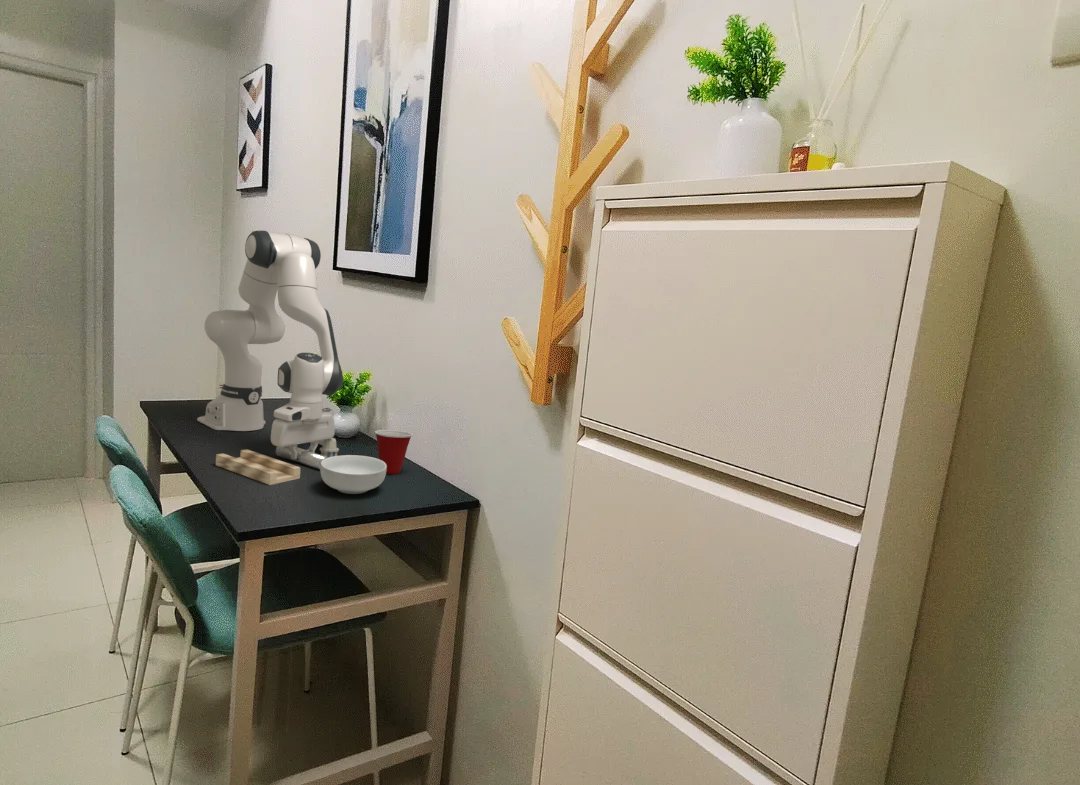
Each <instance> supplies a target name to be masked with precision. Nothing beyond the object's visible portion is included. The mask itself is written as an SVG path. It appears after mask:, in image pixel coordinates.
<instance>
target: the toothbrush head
mask: <svg viewBox="0 0 1080 785" xmlns="http://www.w3.org/2000/svg"><path fill="white" fill-rule="evenodd" d="M318 445H321V446H322V447H319V451H320V455H323V456H326V457H328V458H329V457H334V456H338V452H340V448H338V447H337V440H336V438H334V437H333V438H331V439H325V440H320V441H319V442H318Z"/></svg>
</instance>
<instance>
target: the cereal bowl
mask: <svg viewBox="0 0 1080 785" xmlns="http://www.w3.org/2000/svg"><path fill="white" fill-rule="evenodd" d="M386 470H387V465H386V464H385V462H383V461H381V460H379V458H376V457H372V456H367V455H360V454H359V455H357V454H356V455H355V454H353V455H352V454H346V455H345V454H344V455H337V456H334V457H329V458H326V459H324V460H323V461H322V462H321V466H320V470H319V471H320V477H321V478H322V480H323V482H324V484H326V485H327V486H329V488H332V489H333V490H337V491H338V492H340V493H343V494H349V495H358V494H363V493H367V492H368V491H371V490H373V489H376V488H377V487H379V486H380V485H381V484H382V483H383V482H384V480H385V477H386V475H387V474H386Z"/></svg>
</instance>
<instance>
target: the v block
mask: <svg viewBox="0 0 1080 785" xmlns="http://www.w3.org/2000/svg"><path fill="white" fill-rule="evenodd" d="M215 466H217V467H219V468H223V469H225V470H227V471H231V472H233V473H236V474H239V475H241V476H244V477H247V478H249V479H252V480H255V481H258V482H260V483H262V484H266V485H269V486H272V485H277V484H280V483H286V482H289V481H290V482H291V481H293V480H298V479H300V478H301V467H300V466H297V465H294V464H292V463H289V462H286V461H282V460H280V459H276V458H274V457H271V456H268V455H265V454H262V453H259V452H256V451H254V450H253V451H252V450H250V449H240V455H239V457H235V456H231V455H229V454H226V453H223V452H222V453H218V454H217V453H216V454H215Z"/></svg>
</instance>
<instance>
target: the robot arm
mask: <svg viewBox="0 0 1080 785" xmlns="http://www.w3.org/2000/svg"><path fill="white" fill-rule="evenodd" d="M244 252H245V256H246V258H247V260H246V262H245V266H244V269H243V272H242V275H241V279H240V282H239V285H238V294H239V297H240V298H241V299H242V300H243V301H244V302H245V303H247V304H248V306H249V307H248V309H247V310H246V309H245V310H243V309H242V310H239V309H222V310H216V311H215V310H214V311H211V312H210V313H209V314H208V315H207V316H206V319H205V321H204V331H205V334H206V336H207V337H208V339H209V340H210V341H211V342H213V343H214V344H215V345H216V346H217V347H218V349H219V350H220V352H221V354H222V357H223V361H224V383H223V384H219V389H221V390H220V392H219V393H220V394H219V395H218V396H216V397H215V398H214V399H212V400H210V401H209V402H208V403H207V404H206V407H205V415H201V416H199V417H197V419H196V421H198V422H199V423H201V424H203V425H205V426H207V427H209V428H211V429H212V430H215V431H235V432H250V431H258V430H261V429H263V428H265V426H264V425H266V420H265V419H264V403H263V400H262V399H261V397H262V396H263V386H262V372H263V371H262V370H263V369H262V368H263V365H262V363H261V361H260V360H259V359H258V358H257V357H256V356H254V355H252V354H250V352H249V348H248V345H268V344H273V343H278V342H280V341H281V340H282V338H283V337H284V334H285V331H286V326H285V325H286V324H285V322H284V320H283V318H282V317H281V315H279V314H278V312H277V310H276V303H275V301H276V297H277V301H278V306H279V308H280V309H281V311H282V312H283V313H284V314H285V315H286V316H288V317H289V318H290V319H293V320H294V321H296V322H299V323H300V324H303V325H305V326H307V327H309V328H310V329H312V331H314V333H315V334H316V336H317V340H318V346H319V351H320V354H316V353H313V352H300V353H296V355H294V358H293V359H292V360H288V361H287V360H286V361H285V362H283V363H282V364H281V365H280V366H279V367H278V369H277V386H278V387H279V388H280V390H282V391H283V392H284V393H288V394H291V396H290V399H289V402H288V403H286V404H284V405H283V406H280V407H279V408H277V409H275V410H274V411H273V417H275V419H274V420H273V422H272V423H271V424H272V425H271V432H270V443H271V444H272V445H273V446H275V447H277V446H278V447H284V446H288V448H289V450H290V452H291V458H292V459H299V454H300V453H298V452H297V451H296V449H295V448H298V445H300V444H301V445H302V444H307V443H309V444H310V446H309V447H308V448H307V449H306V450H307V451H310V452H313V453H316V452H315V451H316V449H317V447H318V445H319V443H318V442H319V441H320V440H325V439H331V438H334V436H335V431H336V430H335V416H334V415H335V413H334V410H333V409H331V407H325V408H323V404H324V398H323V395H325V396H333V395H335V394H336V393H338V391H340V389H342V387H343V384H344V376H343V374H344V373H343V370H342V366H341V364H340V361H339V355H338V354H339V353H338V350H337V345H336V344H337V343H336V339H335V333H334V328H333V323H332V319H331V316H330V313H329V310H327V309H326V308H324V306H322V303H321V302H320V298H319V295H318V278H317V270H316V269H317V268H318V267H319V265H320V262H321V258H322V256H321V249H320V247H319V245H318V243H317V242H316V241H314V240H312V239H309V238H307V237H304V238H303V237H300V236H298V235H294V234H290V233H283V232H282V233H280V232H273V231H267V230H253V231H251V233H250V234H249V235H248V236H247V238H246V240H245V244H244Z"/></svg>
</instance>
